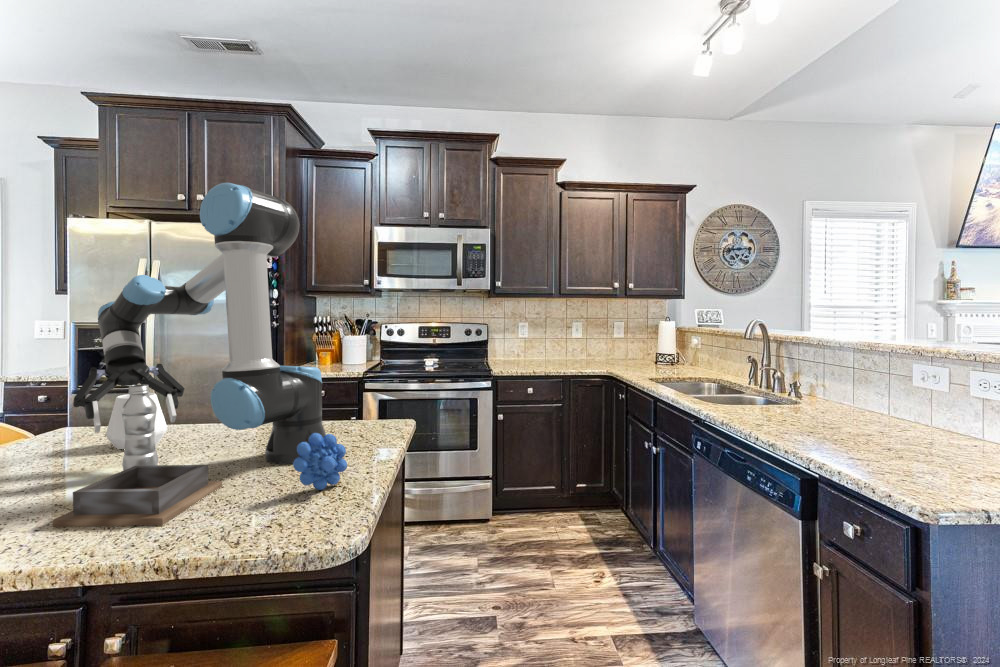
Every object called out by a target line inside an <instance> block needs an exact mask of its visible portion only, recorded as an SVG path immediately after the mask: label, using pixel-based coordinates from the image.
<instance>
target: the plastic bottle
mask: <svg viewBox="0 0 1000 667" xmlns="http://www.w3.org/2000/svg"><path fill="white" fill-rule="evenodd" d="M148 393H150V388H149V385H146V384H142V385H141V384H137V385H128V392H127V394H129V395H130V397H129V399H128V400H127V401H126V402H125V404H124V405H123V407H122V410H121V413H122V418H123V423H124V430H125V450H123V452H124V453H123V454H124V455H123V456H122V462H121V465H122V466H121V467H122V471H124V470H126V469H129V468H131V467H133V466H145V465H158V463H159V462H158V461H159V456H158V451H157V450H156V448H157V447H156V445H155V438H154V430H155V418H156V411H157V406H156V404H155V402H154V401H153V400H152V399H151V398H150V397H149V396H148Z"/></svg>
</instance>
